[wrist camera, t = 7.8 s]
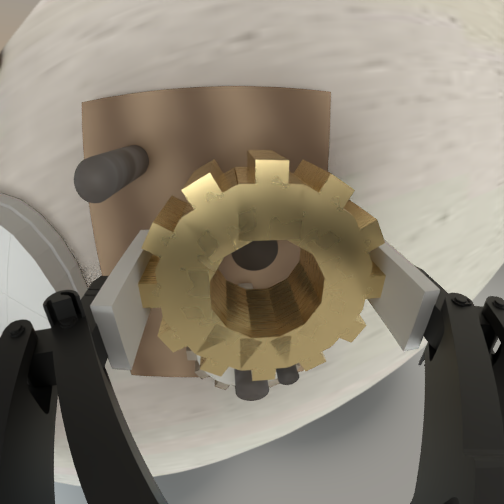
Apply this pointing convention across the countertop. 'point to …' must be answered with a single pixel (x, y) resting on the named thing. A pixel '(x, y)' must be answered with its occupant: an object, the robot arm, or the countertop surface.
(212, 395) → the countertop surface
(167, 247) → the brass gear
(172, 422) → the countertop surface
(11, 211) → the dish
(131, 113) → the gear board
